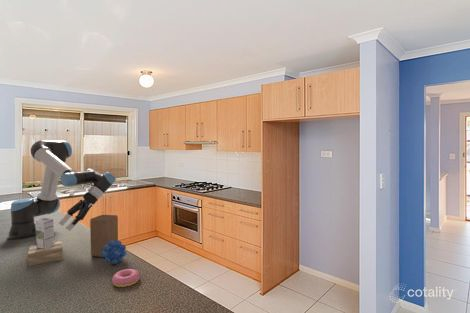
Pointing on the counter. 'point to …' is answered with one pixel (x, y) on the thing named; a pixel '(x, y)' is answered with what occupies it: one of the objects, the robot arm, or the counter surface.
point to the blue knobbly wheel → (114, 252)
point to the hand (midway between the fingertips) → (63, 227)
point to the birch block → (45, 254)
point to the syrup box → (44, 233)
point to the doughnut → (125, 277)
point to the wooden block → (103, 232)
